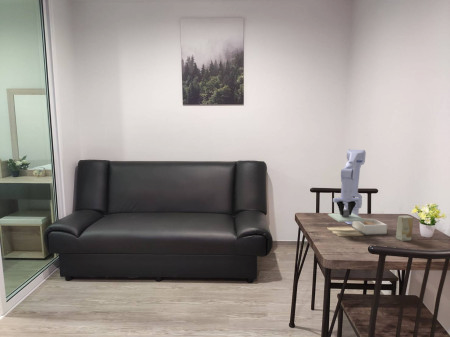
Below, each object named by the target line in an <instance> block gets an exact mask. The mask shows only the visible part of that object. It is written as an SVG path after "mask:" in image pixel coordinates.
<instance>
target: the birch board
mask: <svg viewBox="0 0 450 337" xmlns="http://www.w3.org/2000/svg"><path fill="white" fill-rule="evenodd" d="M326 229H327V230H328V231H330V232H331V233H332V234H334V235H335V236H337V237H339V238H340V237H341V238H342V237H361V236H362V237H363V236H364V234H362V233H361V232H359V231H357V230H356V229H354V228H352V227H351V226H328V227H326Z"/></svg>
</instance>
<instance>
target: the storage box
mask: <svg viewBox="0 0 450 337" xmlns="http://www.w3.org/2000/svg"><path fill="white" fill-rule="evenodd" d="M363 219H364V221H353V223H352V224H351V226H352V227H351V228H353V229H355V230H356V231H358V232H360V233H361V234H363V236H364V235H386V234H387V232H388V224H386V223H384V222H382V221H380V220H378V219H376V218H363Z"/></svg>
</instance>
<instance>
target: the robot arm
mask: <svg viewBox="0 0 450 337" xmlns="http://www.w3.org/2000/svg"><path fill="white" fill-rule="evenodd" d="M366 154H367V153H366V150H365V149H351V148H349V149H348V150H347V152H346V159H347V161H346V163H345V165H344V166H343V168H342V169H341V171H340V182H341V186H340V187H341V189H340V197H334V198H332V203H336V206H337V207H338V210H339V213H340V215H343V209H348V210H349V215H351V213H353V214H355V215H357V216H359V212H360V209H361V208H362V206H363V196H362V195H361V194H360V193H359V183H360V181H359V180H360V172H361V167H362V166H363V165H364V164H365V163H366ZM344 223H345V224H348V225H352V223H353V221H351V222H344Z"/></svg>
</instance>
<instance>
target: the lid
mask: <svg viewBox="0 0 450 337" xmlns="http://www.w3.org/2000/svg"><path fill="white" fill-rule="evenodd" d="M327 216H328V217H330V218H332V219H334V220H335V221H337V222H338V223H345V222H351V221H364V219H365V218H362V216H359V215H358V216H357V215H355V214H353V213H351V215H349V210H348V209H343V215H340V212H336V213H335V212H334V213H332V212H331V213H327Z"/></svg>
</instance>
